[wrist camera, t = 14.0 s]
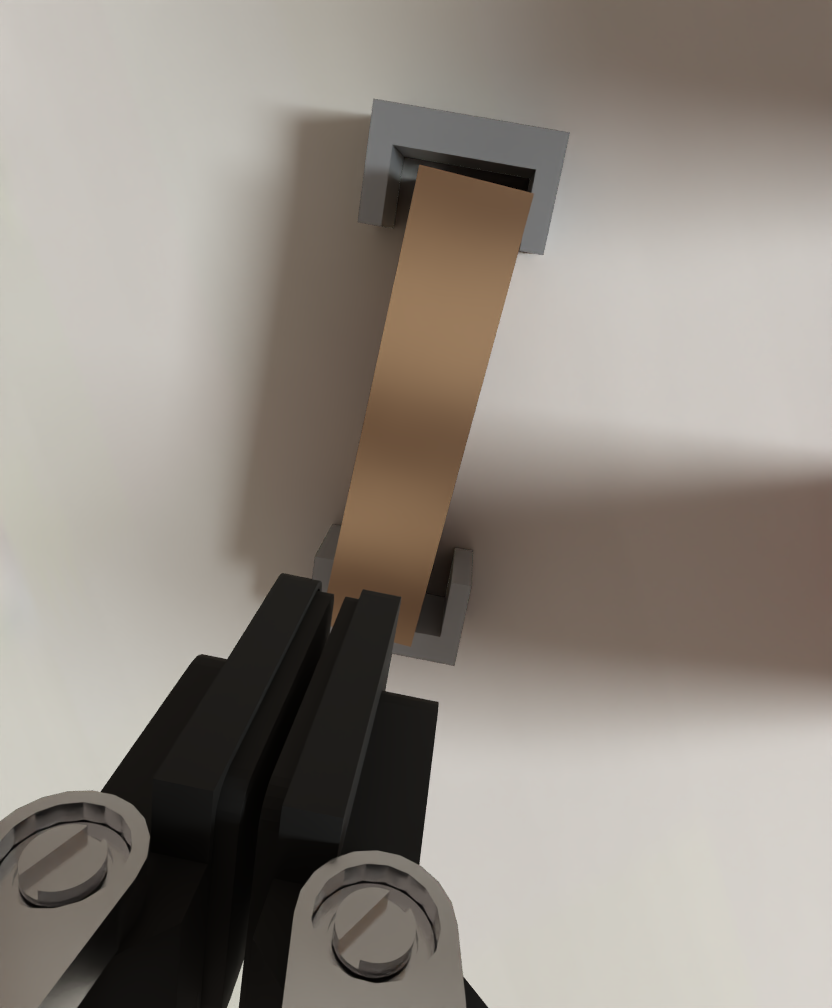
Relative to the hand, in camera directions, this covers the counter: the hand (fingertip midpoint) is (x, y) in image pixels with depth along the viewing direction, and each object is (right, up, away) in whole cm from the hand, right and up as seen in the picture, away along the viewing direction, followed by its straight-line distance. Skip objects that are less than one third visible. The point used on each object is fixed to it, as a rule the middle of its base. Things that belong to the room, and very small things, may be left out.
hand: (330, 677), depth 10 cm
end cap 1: (+3, +14, +17) cm, 22 cm away
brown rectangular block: (+2, +7, +20) cm, 21 cm away
